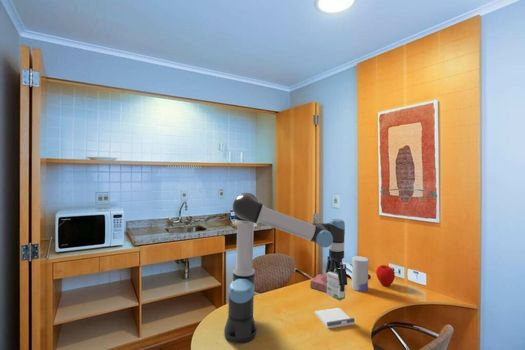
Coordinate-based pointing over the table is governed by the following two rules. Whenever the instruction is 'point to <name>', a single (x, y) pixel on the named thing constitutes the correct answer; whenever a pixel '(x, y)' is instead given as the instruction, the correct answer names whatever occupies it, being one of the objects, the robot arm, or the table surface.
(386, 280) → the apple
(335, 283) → the ink box
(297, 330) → the table surface
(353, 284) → the container
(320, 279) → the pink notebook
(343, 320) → the white flat box
